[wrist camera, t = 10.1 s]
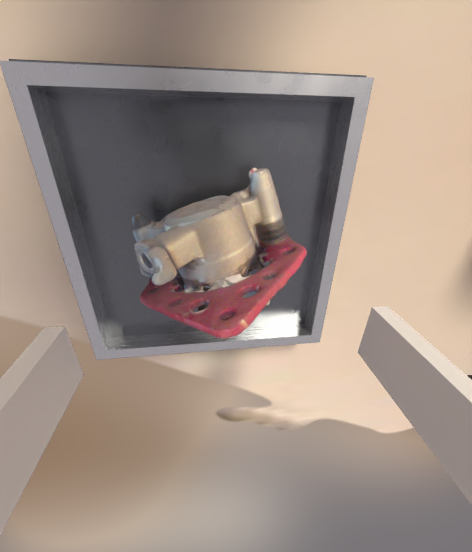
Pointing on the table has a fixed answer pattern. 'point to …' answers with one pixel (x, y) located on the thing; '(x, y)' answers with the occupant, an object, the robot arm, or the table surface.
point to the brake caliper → (218, 258)
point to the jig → (186, 180)
